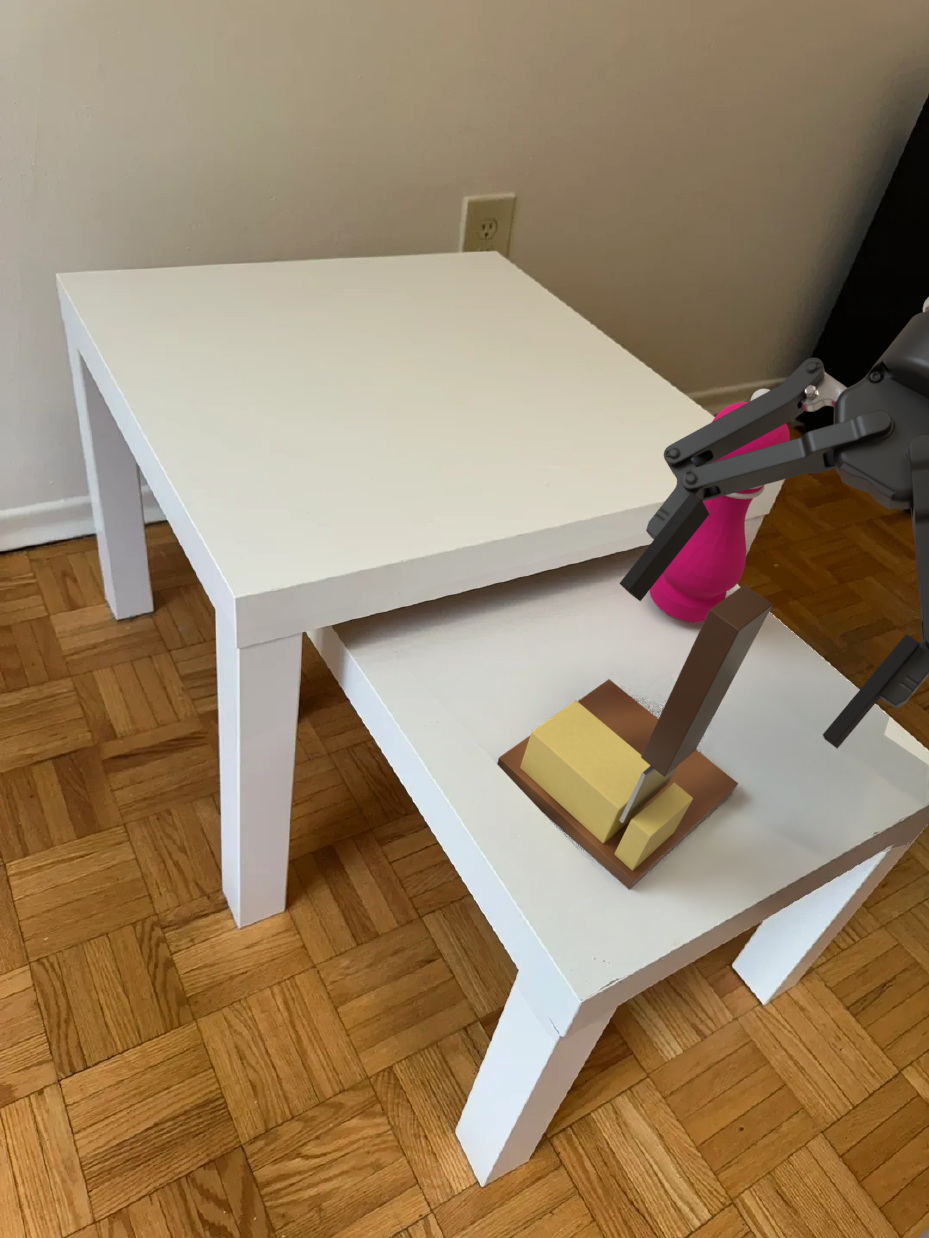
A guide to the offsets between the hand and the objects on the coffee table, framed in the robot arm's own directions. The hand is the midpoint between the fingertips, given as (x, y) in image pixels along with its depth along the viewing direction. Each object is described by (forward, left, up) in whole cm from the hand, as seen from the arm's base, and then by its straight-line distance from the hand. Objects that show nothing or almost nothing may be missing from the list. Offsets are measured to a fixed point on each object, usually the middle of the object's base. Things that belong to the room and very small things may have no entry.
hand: (723, 663), depth 51 cm
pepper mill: (+12, -22, -17) cm, 30 cm away
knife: (0, +2, -12) cm, 12 cm away
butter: (+3, +2, -15) cm, 16 cm away
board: (+3, -2, -17) cm, 17 cm away
